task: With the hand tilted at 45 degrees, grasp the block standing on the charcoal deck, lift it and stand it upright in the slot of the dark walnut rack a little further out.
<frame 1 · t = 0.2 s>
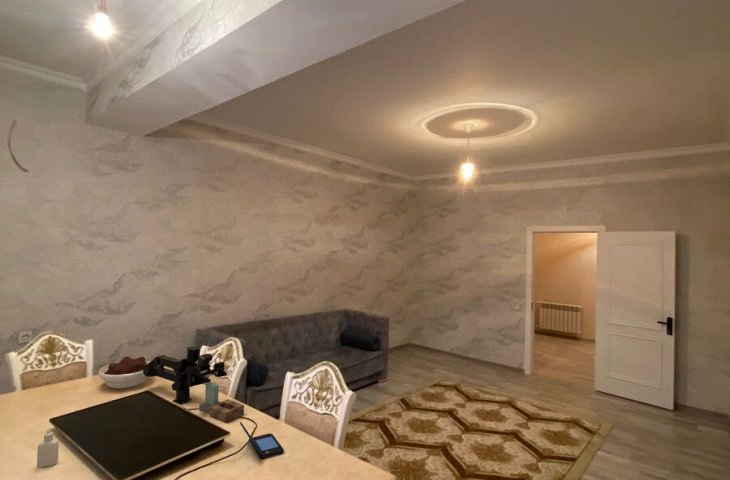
hand: (218, 377, 176), 16 cm above the table, tool horizontal, fingers open, 9 cm apart
handheld game console: (261, 449, 148), on the table
deck: (211, 410, 179), on the table
block: (211, 403, 179), point 3 cm above the table, touching deck
rack: (226, 415, 174), on the table
bowl of chocolate mousse: (126, 385, 206), on the table
eye dropper bottle: (47, 464, 134), on the table
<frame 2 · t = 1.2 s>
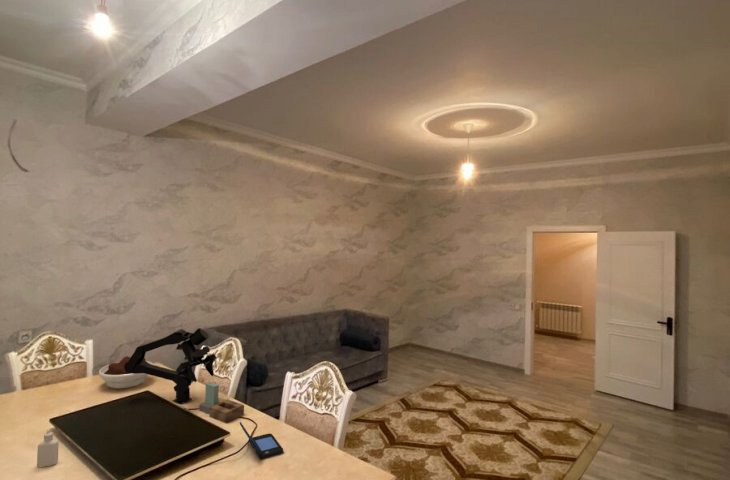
hand: (204, 378, 182), 14 cm above the table, tool tilted 45°, fingers open, 9 cm apart
nothing on the table moved.
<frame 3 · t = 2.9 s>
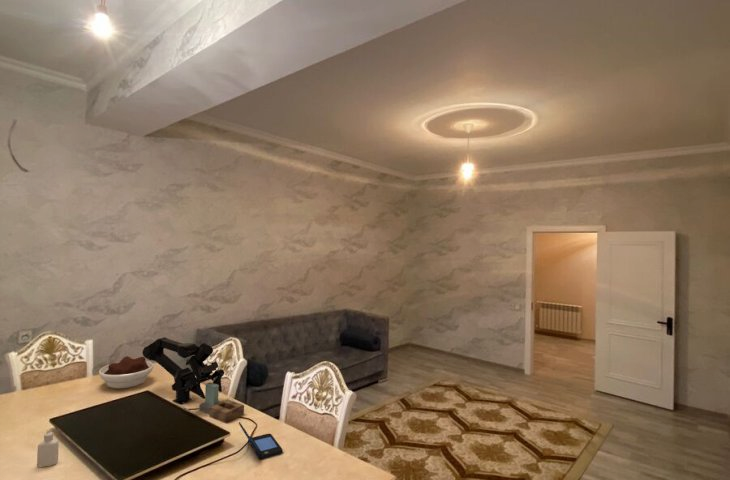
hand: (213, 395, 179), 7 cm above the table, tool tilted 45°, fingers open, 9 cm apart
nothing on the table moved.
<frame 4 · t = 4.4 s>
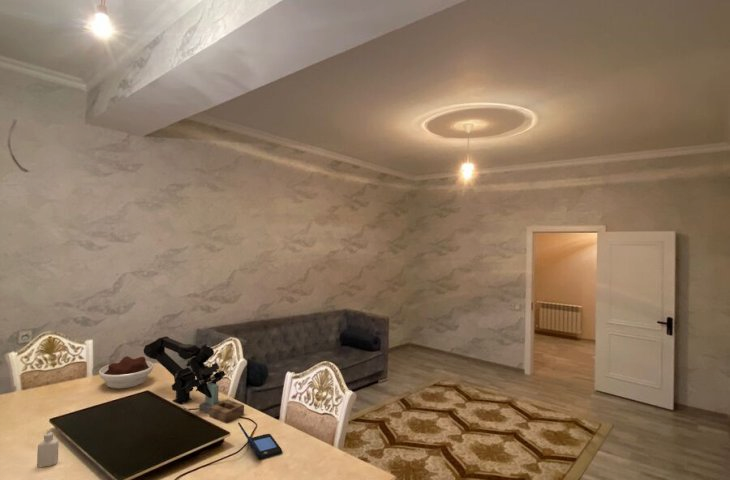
hand: (213, 396, 179), 7 cm above the table, tool tilted 45°, fingers closed on block, 2 cm apart
block: (211, 403, 179), point 3 cm above the table, touching deck, gripper
everything else where it was.
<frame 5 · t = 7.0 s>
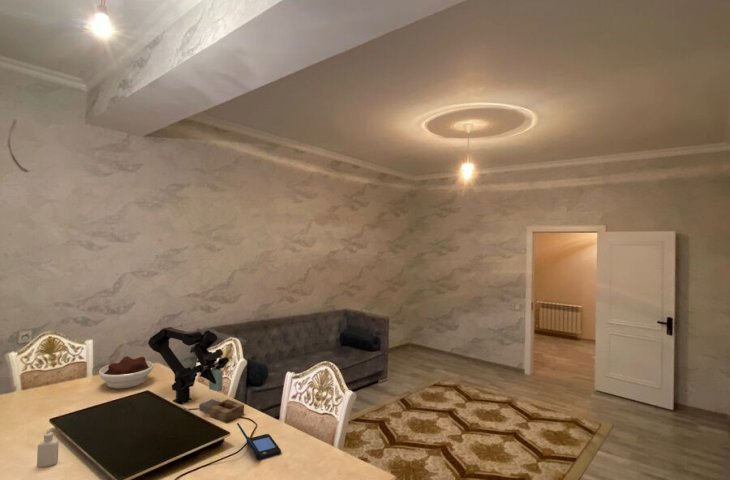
hand: (217, 382, 177), 14 cm above the table, tool tilted 45°, fingers closed on block, 2 cm apart
block: (215, 389, 178), point 10 cm above the table, touching gripper
when the fingers open (7 cm above the table, at t = 9.7 s): block drops 2 cm, resting on rack.
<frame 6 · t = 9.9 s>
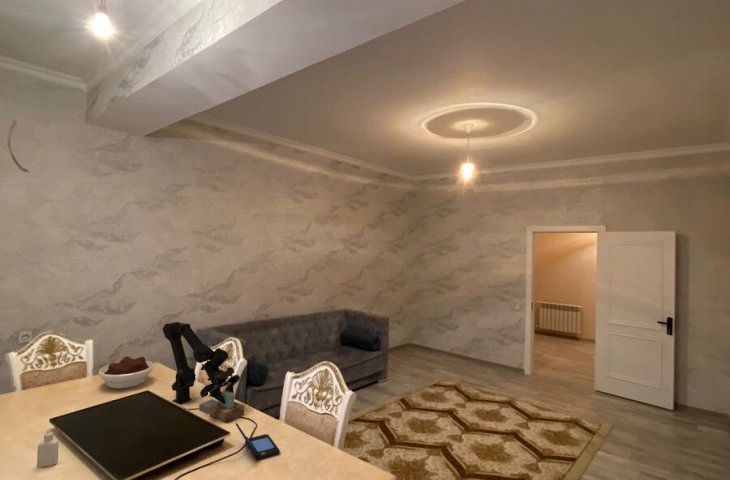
hand: (229, 401, 173), 7 cm above the table, tool tilted 45°, fingers open, 5 cm apart
block: (226, 412, 174), point 1 cm above the table, touching rack
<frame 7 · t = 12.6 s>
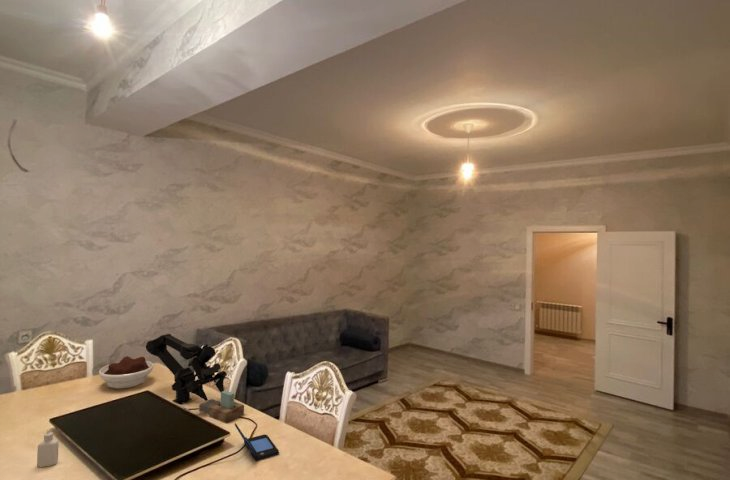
hand: (215, 397, 178), 7 cm above the table, tool tilted 45°, fingers open, 9 cm apart
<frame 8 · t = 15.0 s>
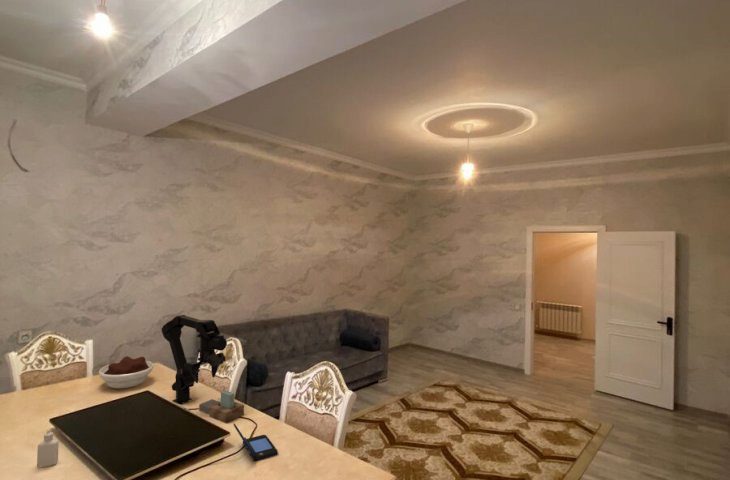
hand: (205, 380, 182), 13 cm above the table, tool pointing down, fingers open, 9 cm apart
at the end: block 0.0 cm off-centre on the rack, point 1.5 cm above the rack's base; block tilted 0°; the gripper is holding nothing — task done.
